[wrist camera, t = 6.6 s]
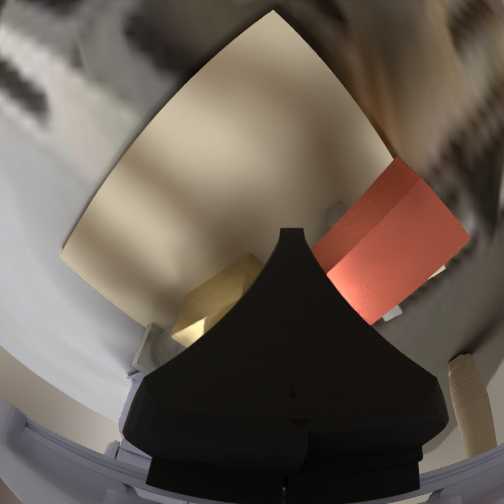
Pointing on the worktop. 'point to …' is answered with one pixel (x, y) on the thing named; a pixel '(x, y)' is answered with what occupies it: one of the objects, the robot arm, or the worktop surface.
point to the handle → (471, 406)
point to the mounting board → (226, 174)
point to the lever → (389, 242)
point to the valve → (211, 308)
